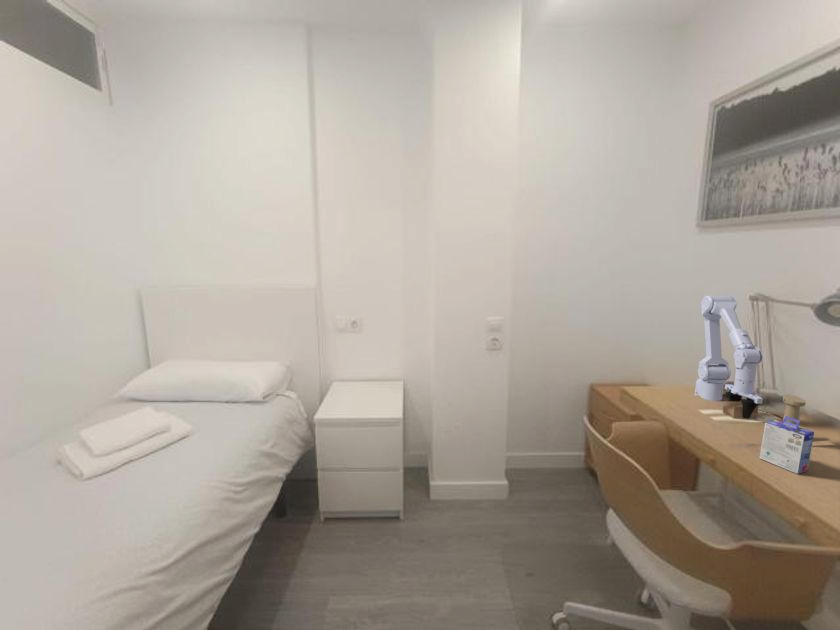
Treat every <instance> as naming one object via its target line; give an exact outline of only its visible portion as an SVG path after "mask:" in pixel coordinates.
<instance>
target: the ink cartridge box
mask: <svg viewBox="0 0 840 630" xmlns="http://www.w3.org/2000/svg"><path fill="white" fill-rule="evenodd" d="M783 418H784V417H783ZM786 420H792V421H794V422H796V423H797V424H792V423H789V422H787V421H786ZM800 423H801V420H797V419H793V418H790V417H787V416H786V417H785V418H784V420H783V421H777V420H771V421H768V422H764V428H763V434H762V440H761V446H760V453H759V459H760V460H763V461H765V462H768V463H769V464H773V465H775V466H777V467H780V468H781V469H784V470H787V471H790V472H792V473H794V474H798V475H799V474H801V473H802V474H803V473H805V472H808V470H809V464H810V458H811V452H812V447H813V441H814V436H815V435H814V434H815V432H814V431H813V430H809V429H805V428H803V427H799V425H800Z"/></svg>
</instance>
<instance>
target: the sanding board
mask: <svg viewBox="0 0 840 630" xmlns="http://www.w3.org/2000/svg"><path fill="white" fill-rule="evenodd" d="M697 411H698V412H700V413H702V414H704V415H705V416H707V417H708V418H710V419H712V420H714V421H716V422H717V423H719V424H721V425H728V424H731V425H732V424H749V423H750V424H751V423H765V422H768V421H771V420H777V421H781V422H783V418H780V417H778V416H776V415H774V414H772V413H770V412H768V413H766V412H767V411H766V412H762V411H759V410H758V415H757V418H737V419H733V418H731V417H729V416H727V415H726V414H724V413H723V408H715V409H714V408H713V409H712V408H711V409H710V408H709V409H697Z"/></svg>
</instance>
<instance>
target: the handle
mask: <svg viewBox="0 0 840 630" xmlns="http://www.w3.org/2000/svg"><path fill="white" fill-rule="evenodd" d="M782 401H783V403H784V404H786V406H785V409H784V415H783V418H782V419H783V420H784V418H785V417H786V416H787V417H790V418H793V419H797V420H799V419H800V409H801V408H803V407H805V406H806V403H807V402H806V400H805V399H804V398H802V397H800V396H796V395H791V394H783V395H782ZM786 421H787V422H789V423H792V424H797V423H796V422H794V421H792V420H786Z"/></svg>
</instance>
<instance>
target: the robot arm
mask: <svg viewBox="0 0 840 630" xmlns="http://www.w3.org/2000/svg"><path fill="white" fill-rule="evenodd" d="M736 302H737V301H736V298H735V297H734V296H733V295H705V296H704V297H703V299H702V300H701V302H700V306H701V307H700V308H701V316H702V317H703V323H704V324H703V325H704V327H703V329H704V343H705V346H704V347H705V357H704V358H702V359H701V360H699V361H698V368H697V375H698V377H699V378H697V379H696V381H695V389H694V396H700V397H701V398H702V399H704V400H707V401H711V402H712V401H713V402H721V401H722V400H723V394H724V390H726V391H725V396H726V397H727V399H728V402H731V401H741V402H742V405H743V418H750V416H751V414H752V412H753V411H754V409H755V408H756V407H757V406H759V405H760V404H761V405H762V404H763V402H764V401H763V400H764V399H763V397H761V396H760V395H758V394H757V393H755V392H754V389H755V388H754V387H755V381H756V374H757V367H758V364H760V363H762V361H763V359H764V358H763V353H762V350H761V349H760V348H759V347H757V346H756V345H754V343H753V341H752V340H751V338H750V336H749V333H748V332H747V330H745V329H743V328H742V327H741V324H740V321H739V319H738V316H737V315H738V314H737V313H736V308H737V303H736ZM721 318H722V320H723V323H724V324H725V325H726V327H727V328H728V330H729V334H728V339H729V340H730V343H731V344H732V347H733V350H734V353H733V361H734V366H735V374H734V380H733V384H732V383H727V381H728V380H729V379H730V378H731V375H732V371H731V368H730V366H729V362H728V361H727V360H726V359H724V358H723V357H722V354H723V353H722V341H721V340H722V339H721V326H720V325H721V322H720V319H721ZM727 390H728V391H727ZM742 398H743V399H742Z"/></svg>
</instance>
